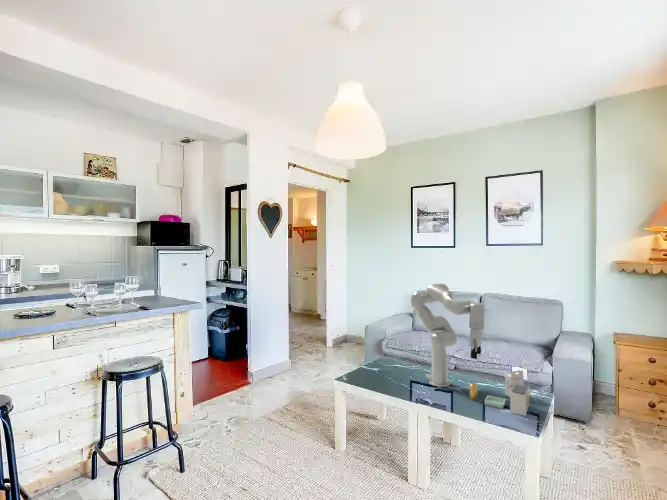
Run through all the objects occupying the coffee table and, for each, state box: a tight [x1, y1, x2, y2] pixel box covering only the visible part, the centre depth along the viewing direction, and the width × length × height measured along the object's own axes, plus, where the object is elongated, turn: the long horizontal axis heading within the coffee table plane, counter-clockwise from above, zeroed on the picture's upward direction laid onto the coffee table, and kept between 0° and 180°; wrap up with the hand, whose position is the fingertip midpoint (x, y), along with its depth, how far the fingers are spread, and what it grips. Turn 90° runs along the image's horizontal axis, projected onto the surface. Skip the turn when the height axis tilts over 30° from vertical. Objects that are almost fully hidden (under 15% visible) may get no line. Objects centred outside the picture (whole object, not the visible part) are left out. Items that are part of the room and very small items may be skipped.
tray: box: [483, 394, 507, 410], centre depth 197 cm, size 9×9×2 cm
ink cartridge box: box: [504, 370, 524, 397], centre depth 208 cm, size 9×5×15 cm, turn 105°
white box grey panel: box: [509, 384, 530, 417], centre depth 190 cm, size 7×14×11 cm, turn 146°
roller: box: [469, 382, 479, 401], centre depth 203 cm, size 4×4×8 cm
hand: (475, 356), depth 202 cm, fingers open, 9 cm apart
